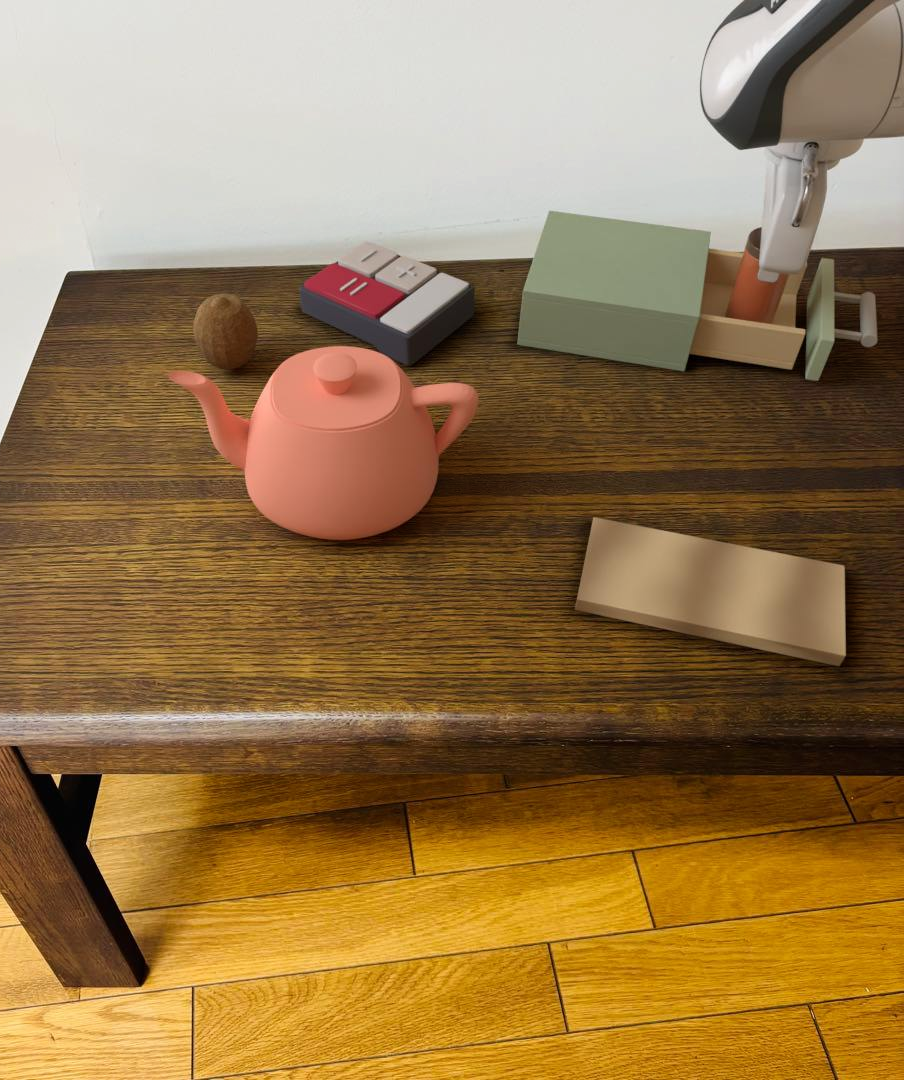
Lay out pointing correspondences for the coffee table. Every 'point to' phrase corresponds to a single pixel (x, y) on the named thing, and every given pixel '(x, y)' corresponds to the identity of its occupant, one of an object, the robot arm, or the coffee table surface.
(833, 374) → the coffee table surface
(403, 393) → the teapot
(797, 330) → the drawer
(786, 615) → the board
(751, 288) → the spice jar
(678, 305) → the cabinet
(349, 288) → the calculator
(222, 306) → the fruit
